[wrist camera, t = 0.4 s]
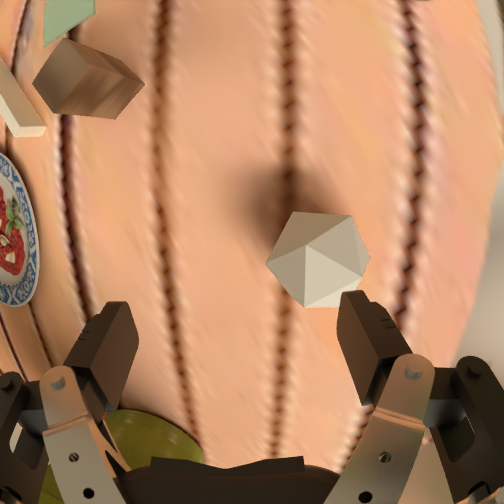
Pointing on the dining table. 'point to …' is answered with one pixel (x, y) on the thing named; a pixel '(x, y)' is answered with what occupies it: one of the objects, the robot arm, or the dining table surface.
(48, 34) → the pad
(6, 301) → the ceramic plate
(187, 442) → the plant pot
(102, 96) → the walnut block
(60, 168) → the dining table surface
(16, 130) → the arena
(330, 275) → the die
